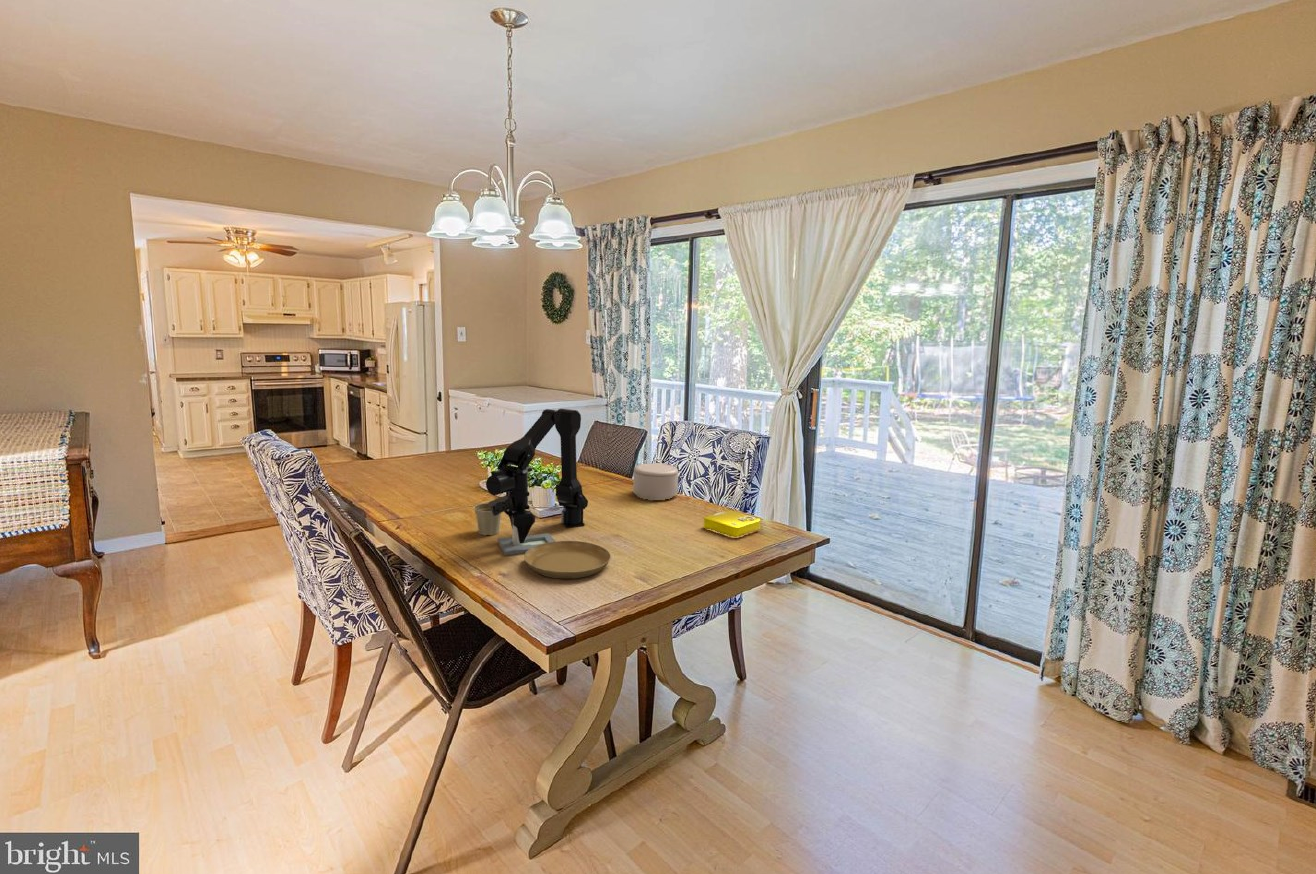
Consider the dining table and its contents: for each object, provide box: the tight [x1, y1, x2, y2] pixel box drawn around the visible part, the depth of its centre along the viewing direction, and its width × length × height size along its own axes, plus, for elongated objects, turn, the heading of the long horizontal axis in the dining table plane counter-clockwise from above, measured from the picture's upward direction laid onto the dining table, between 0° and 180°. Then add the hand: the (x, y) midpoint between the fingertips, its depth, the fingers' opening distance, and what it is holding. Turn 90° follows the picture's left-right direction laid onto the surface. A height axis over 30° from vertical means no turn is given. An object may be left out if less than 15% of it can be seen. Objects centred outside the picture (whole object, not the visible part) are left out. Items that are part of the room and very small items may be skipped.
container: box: [632, 462, 679, 501], centre depth 250 cm, size 18×18×12 cm
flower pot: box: [472, 502, 503, 536], centre depth 199 cm, size 9×9×9 cm
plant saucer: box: [523, 540, 612, 580], centre depth 175 cm, size 24×24×3 cm
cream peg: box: [512, 525, 523, 546], centre depth 187 cm, size 3×3×9 cm
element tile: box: [702, 509, 761, 537], centre depth 211 cm, size 15×15×5 cm
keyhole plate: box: [497, 532, 556, 557], centre depth 189 cm, size 16×12×1 cm
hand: (518, 538), depth 187 cm, fingers open, 9 cm apart
